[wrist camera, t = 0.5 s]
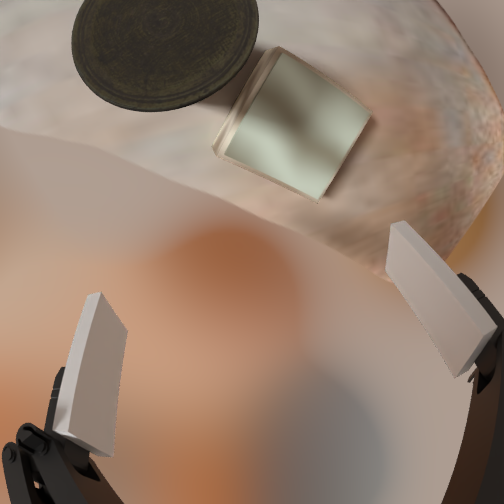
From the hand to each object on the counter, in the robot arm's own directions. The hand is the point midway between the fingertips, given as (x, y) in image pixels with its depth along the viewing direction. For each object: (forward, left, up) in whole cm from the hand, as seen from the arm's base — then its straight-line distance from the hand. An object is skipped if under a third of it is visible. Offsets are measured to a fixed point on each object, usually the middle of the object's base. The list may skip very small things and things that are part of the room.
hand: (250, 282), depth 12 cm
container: (-8, -8, -22) cm, 24 cm away
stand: (-7, +6, -21) cm, 23 cm away
